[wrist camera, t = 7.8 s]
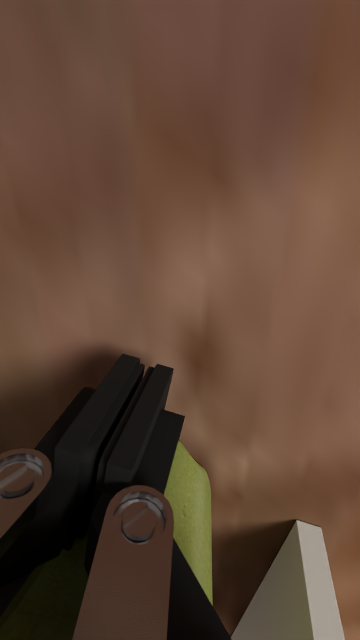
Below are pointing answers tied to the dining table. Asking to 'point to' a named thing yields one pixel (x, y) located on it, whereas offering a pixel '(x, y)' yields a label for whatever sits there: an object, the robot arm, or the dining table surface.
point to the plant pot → (68, 568)
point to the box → (295, 594)
